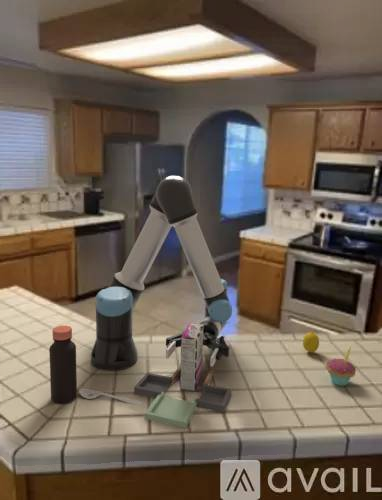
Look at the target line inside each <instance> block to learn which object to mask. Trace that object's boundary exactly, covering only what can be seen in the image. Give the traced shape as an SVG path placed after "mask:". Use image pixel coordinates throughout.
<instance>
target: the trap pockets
mask: <svg viewBox="0 0 382 500" xmlns="http://www.w3.org/2000/svg"><path fill="white" fill-rule="evenodd" d="M171 385H172V376H168V375H161V374H156V373H151V372H146V373H145V374H144V375H143V376H142V377H141V378H140V380H139V381H138V382H137V384H136V385H135V386H133V394H134V395H138V396H143V397H147V398H153V399H156V397H157V396H158V394H161V393H162V392H164V395H165V393H166V392H167V391H168V389H169V388H170V386H171ZM202 385H203V384H202ZM231 396H232V388H227V387H223V386H217V385H213V384H209V385H208V384H204V385H203V390H202V392H201V394H200V395H199V397H198V398H194V399H195V402H197V407H196V408H199V409H202V410H203V409H204V410H209V411H212V412H213V411H214V412H218V413H223V414H224V413H225V411H226V408H227V406H228V405H229V404H228V403H229V401H230V399H231Z"/></svg>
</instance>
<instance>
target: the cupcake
mask: <svg viewBox="0 0 382 500" xmlns="http://www.w3.org/2000/svg"><path fill="white" fill-rule="evenodd" d="M351 348H352V347H351V346H350V347H349V348H348V349H347V352H346V355H345V358H333V359H330V360H329V361H327V362H326V364H325V369H326V371H327V372H328V373H329V377H330V379H331V382H332V383H333V384H335V385H337V386H347V385H348V383H349V381H350V379H351V378H354V377H355V375H356V371H357V369H356V367H355V365H354V364H353V363H352V362H350V361H349V360H348V359H349V356H350V353H351Z"/></svg>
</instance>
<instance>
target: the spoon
mask: <svg viewBox="0 0 382 500" xmlns="http://www.w3.org/2000/svg"><path fill="white" fill-rule="evenodd" d="M78 394H79V395H80V396H81V397H83V398H85V399H87V400H92V399H95V398H98V397H100V396H106V397H109V398H112V399H115V400H118V401H121V402H123V403H126V404H130V405H141V403H142V402H141V401H138V400H136V399H132V398H131V399H130V398H126V397H122V396H118V395H113V394H109V393H106V392H102V391H99V390H93V389H87V388H82V389H79V390H78ZM89 395H92V396H89Z"/></svg>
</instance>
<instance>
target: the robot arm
mask: <svg viewBox="0 0 382 500" xmlns="http://www.w3.org/2000/svg"><path fill="white" fill-rule="evenodd" d="M148 206H149V209H150V213H149V215H148V217H147V219H146V221H145V223H144V225H143V227H142V229H141V231H140V233H139V235H138V237H137V239H136V241H135V243H134V244H133V247H132V249H131V251H130V253H129V255H128V257H127V259H126V261H125V263H124V265H123V267H122V270H121V271H119V272H116V273H114V276H113V277H112V279H111V281H110V284H109V286H108V287H106V288H103V289H101V290H100V291H98V292H97V294H96V296H95V302H94V303H95V328H96V329H95V331H96V332H95V333H96V334H95V335H96V336H95V342H94V344H93V348H92V350H91V355H90V363H91V364H92V365H93V366H94V367H95V368H97V369H100V370H105V371H119V370H124V369H128V368H129V367H132V366H133V365H136V363H137V361H138V349H137V347H136V343H135V341H134V337H133V316H134V312H135V309H136V306H137V304H138V301H140V298H141V295H143V292H144V290H145V285H144V281H145V280H146V277H147V275H148V273H149V271H150V269H151V268H152V265H153V263H154V261H155V260H156V257H157V255H158V254H159V252H160V251H161V249H162V246H163V244H164V242H165V240H166V238H167V236H168V234H169V232H170V230H171V228H172V227H173V228H174V230H175V233H176V236H177V238H178V240H179V243H180V245H181V247H182V249H183V253H184V254H185V255H184V256H186V257H185V258H186V260H187V262H188V264H189V266H190V269H191V271H192V274H193V277H194V279H195V281H196V284H197V286H198V288H199V290H200V293H201V295H202V298H203V300H204V303H205V304H204V305H205V307H204V318H203V319H202V320H201V322H199V324H202V325H204V326H203V347H204V346H205V347H207V348H208V349H210V350H211V351H212V355H211V356H210V362H209V365H210V367H213V366H214V365H215V363H216V361H219V360H221V358H222V357H223V356H224V357H226V358H227V357H228V358H229V355H230V353H229V352H230V348H229V346H228V344H227V342H226V341H225V336H223V335H221V336H220V334H221V332H222V330H223V329H224V328H225V327H226V325H227V322H228V321H229V320H230V318H231V317H232V315H233V306H232V303H231V302H230V299H229V296H228V293H227V292H228V283H227V281H226V280H225V279H222V278H221V277H220V274H219V271H218V269H217V266H216V264H215V262H214V259H213V256H212V254H211V252H210V250H209V246H208V245H207V242H206V239H205V236H204V234H203V232H202V231H203V230H201V226H200V223H199V222H198V219H197V217H198V214H199V213H198V210H197V207H196V204H195V202H194V196H193V190H192V186H191V184H190V183H189V181H188V180H187V179H185V178H184V177H182V176H180V175H169V176H166V177H165V178H163V179H162V180H161V181H160V182H159V183H158V186H157V187H156V192H155V193H154V195H153V197H152V199H151V202H150V203H149V205H148ZM184 332H185V330H183V331H182V332H180V333H177V334H174V335H171V336H169V337H165V347H166V349H165V358H166V359H169V358H170V357H171V355H172V354H174V352H175V351H176V349H177V348H181V337H182V335H183V333H184Z"/></svg>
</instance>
